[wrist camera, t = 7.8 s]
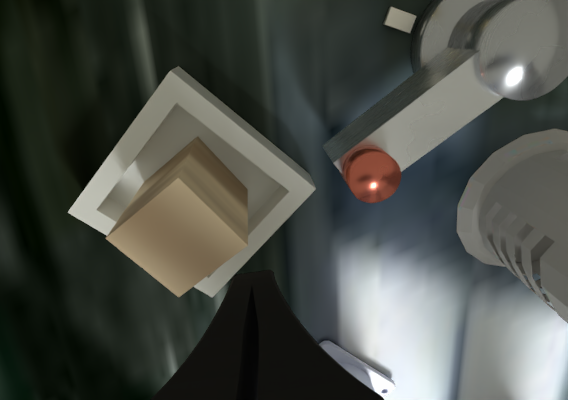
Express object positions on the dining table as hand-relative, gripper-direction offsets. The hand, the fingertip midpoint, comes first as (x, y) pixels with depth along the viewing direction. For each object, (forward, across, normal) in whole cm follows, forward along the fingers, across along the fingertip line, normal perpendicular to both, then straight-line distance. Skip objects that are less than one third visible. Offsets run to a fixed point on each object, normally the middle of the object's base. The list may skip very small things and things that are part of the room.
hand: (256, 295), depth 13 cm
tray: (+9, +3, -1) cm, 10 cm away
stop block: (+9, +3, -1) cm, 9 cm away
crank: (+8, -9, -5) cm, 13 cm away
